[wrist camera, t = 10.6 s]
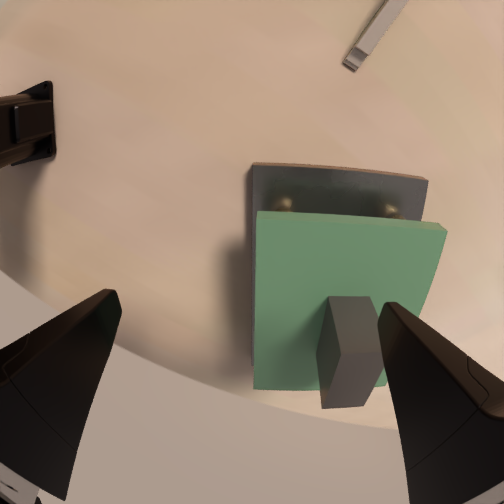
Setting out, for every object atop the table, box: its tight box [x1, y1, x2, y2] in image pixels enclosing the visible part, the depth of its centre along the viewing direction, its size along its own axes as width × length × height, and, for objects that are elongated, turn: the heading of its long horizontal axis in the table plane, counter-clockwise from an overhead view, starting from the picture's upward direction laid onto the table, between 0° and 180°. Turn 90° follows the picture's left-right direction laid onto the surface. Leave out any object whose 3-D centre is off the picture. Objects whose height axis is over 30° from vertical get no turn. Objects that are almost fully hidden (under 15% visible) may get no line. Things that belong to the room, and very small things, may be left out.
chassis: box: [252, 162, 428, 366], centre depth 20 cm, size 12×18×4 cm, turn 0°
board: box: [253, 211, 447, 409], centre depth 16 cm, size 11×14×6 cm
